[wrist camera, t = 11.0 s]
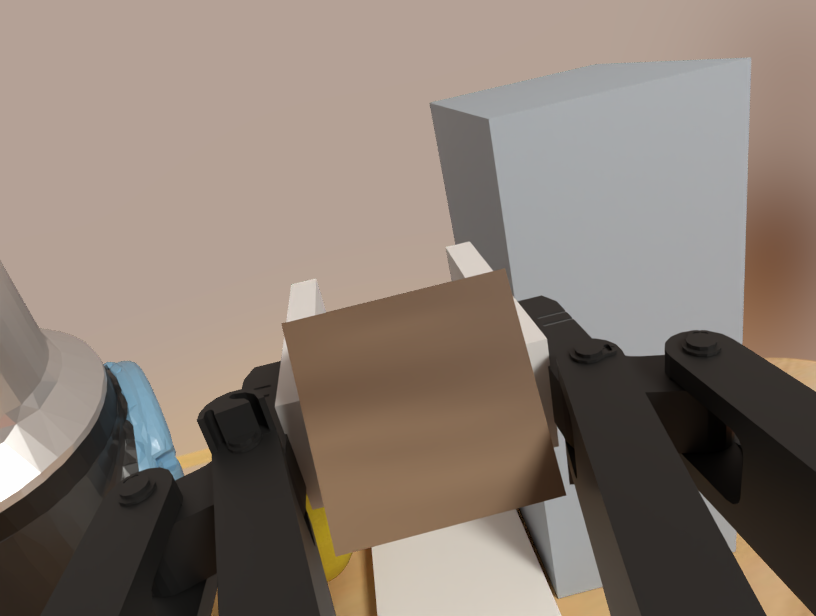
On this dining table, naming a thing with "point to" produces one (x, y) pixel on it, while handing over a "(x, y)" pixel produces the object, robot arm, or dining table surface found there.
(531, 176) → the slate-blue shelf box
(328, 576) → the lemon
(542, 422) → the walnut block
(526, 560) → the cream platter
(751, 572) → the dining table surface
